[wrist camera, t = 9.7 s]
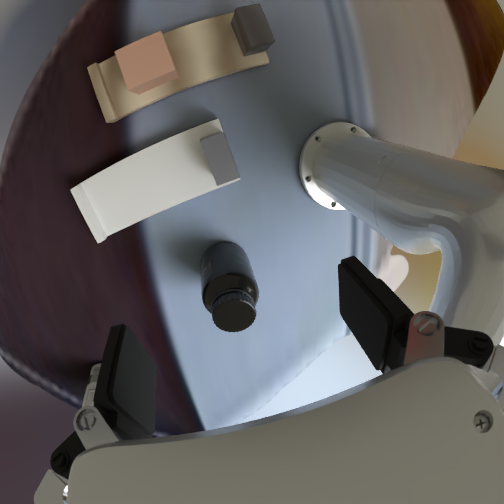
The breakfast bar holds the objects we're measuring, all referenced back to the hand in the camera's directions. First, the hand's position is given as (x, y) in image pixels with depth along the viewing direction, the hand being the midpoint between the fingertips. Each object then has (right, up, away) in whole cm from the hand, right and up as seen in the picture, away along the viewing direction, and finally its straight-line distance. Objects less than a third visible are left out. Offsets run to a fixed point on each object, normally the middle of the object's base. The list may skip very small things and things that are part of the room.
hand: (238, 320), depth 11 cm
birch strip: (-8, +26, +15) cm, 31 cm away
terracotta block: (-11, +24, +13) cm, 29 cm away
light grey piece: (-12, +12, +21) cm, 27 cm away
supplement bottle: (-3, +1, +28) cm, 29 cm away
